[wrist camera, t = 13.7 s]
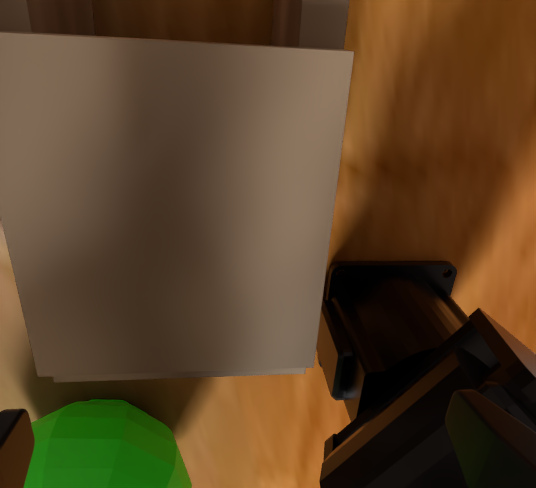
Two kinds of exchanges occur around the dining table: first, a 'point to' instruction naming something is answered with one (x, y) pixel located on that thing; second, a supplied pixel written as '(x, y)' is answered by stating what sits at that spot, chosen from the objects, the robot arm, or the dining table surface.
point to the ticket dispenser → (170, 191)
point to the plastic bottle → (104, 449)
